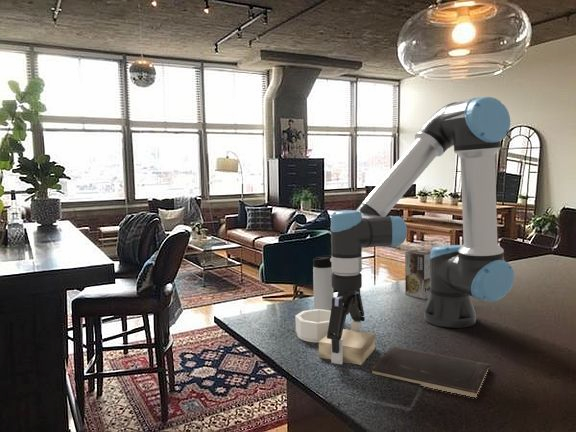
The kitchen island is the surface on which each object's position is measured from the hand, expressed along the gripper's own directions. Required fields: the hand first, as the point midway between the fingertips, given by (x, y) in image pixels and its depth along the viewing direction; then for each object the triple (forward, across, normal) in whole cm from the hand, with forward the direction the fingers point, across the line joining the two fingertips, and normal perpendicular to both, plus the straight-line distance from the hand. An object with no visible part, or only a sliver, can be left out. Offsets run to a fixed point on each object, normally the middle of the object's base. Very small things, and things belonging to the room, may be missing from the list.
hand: (347, 354), depth 122 cm
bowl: (0, -9, -12) cm, 15 cm away
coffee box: (0, -62, +5) cm, 62 cm away
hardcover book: (+1, +2, +21) cm, 21 cm away
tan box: (0, 0, 0) cm, 0 cm away
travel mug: (0, -25, -17) cm, 30 cm away
